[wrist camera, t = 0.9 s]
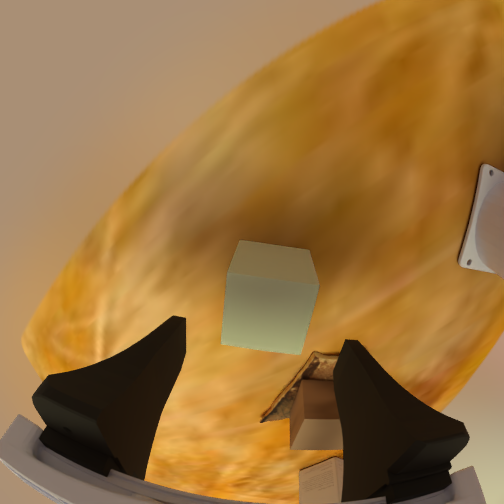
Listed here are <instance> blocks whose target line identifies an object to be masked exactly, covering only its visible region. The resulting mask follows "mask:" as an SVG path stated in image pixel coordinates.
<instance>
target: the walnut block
mask: <svg viewBox="0 0 504 504" xmlns="http://www.w3.org/2000/svg"><path fill="white" fill-rule="evenodd" d="M290 449H291V450H339V449H343V436H342V428H341V423H340V418H339V413H338V408H337V403H336V398H335V393H334V384H333V381H319V380H302V381H301V384H300V387H299V390H298V392H297V395H296V398H295V401H294V404H293V406H292V409H291V412H290Z"/></svg>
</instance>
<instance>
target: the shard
mask: <svg viewBox="0 0 504 504" xmlns="http://www.w3.org/2000/svg"><path fill="white" fill-rule="evenodd" d="M338 357H339V356H327V355H323V354H320V353H317V352H313V354H312V355H311V356H310V358H309V359H308V361H307V363H306V364H305V366H304V367H303V368H302V370H301V371H300V372H298V374H297V376H296V378H295V379H294V380H293V382H292V383H291V384H290V385H289V386H287V387H286V388H285V389H284V390H283V392H282V393H281V394H280V395H279V396H278V398H277V399H276V400H275V401H274V402H273V403H272V405H271V408H270V409H269V410H268V411H267V412H266V414H265V416H264V417H263V418H262V419H261V420H260V423H263V422H266V421H275V420H281V419H285V418H290V412H291V409H292V406H293V404H294V401H295V398H296V395H297V392H298V390H299V387H300V384H301V381H302V380H319V381H333V369H334V367H335V365H336V362H337V360H338Z"/></svg>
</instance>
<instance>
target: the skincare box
mask: <svg viewBox="0 0 504 504" xmlns="http://www.w3.org/2000/svg"><path fill="white" fill-rule="evenodd" d="M342 487H343V460H342V459H340V458H337V457H333V458H331V459H328V460H326V461H324V462H321V463H319V464H317V465H314V466H311V467H309V468H306V469H304V470H301V471H299V504H327V503H340V502H341V497H342Z"/></svg>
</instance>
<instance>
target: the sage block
mask: <svg viewBox="0 0 504 504" xmlns="http://www.w3.org/2000/svg"><path fill="white" fill-rule="evenodd" d="M319 286H320V284H319V281H318V277H317V274H316V270H315V267H314V264H313V260H312V257H311V254H310V250H307V249H300V248H294V247H287V246H280V245H273V244H267V243H260V242H253V241H246V240H239V243H238V245H237V248H236V251H235V253H234V256H233V258H232V261H231V264H230V266H229V269H228V271H227V280H226V290H225V301H224V312H223V323H222V335H221V344H223V345H229V346H235V347H242V348H249V349H255V350H263V351H270V352H278V353H287V354H296V355H301V351H302V348H303V345H304V341H305V338H306V334H307V331H308V327H309V324H310V320H311V317H312V313H313V309H314V306H315V302H316V298H317V294H318V290H319Z"/></svg>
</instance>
